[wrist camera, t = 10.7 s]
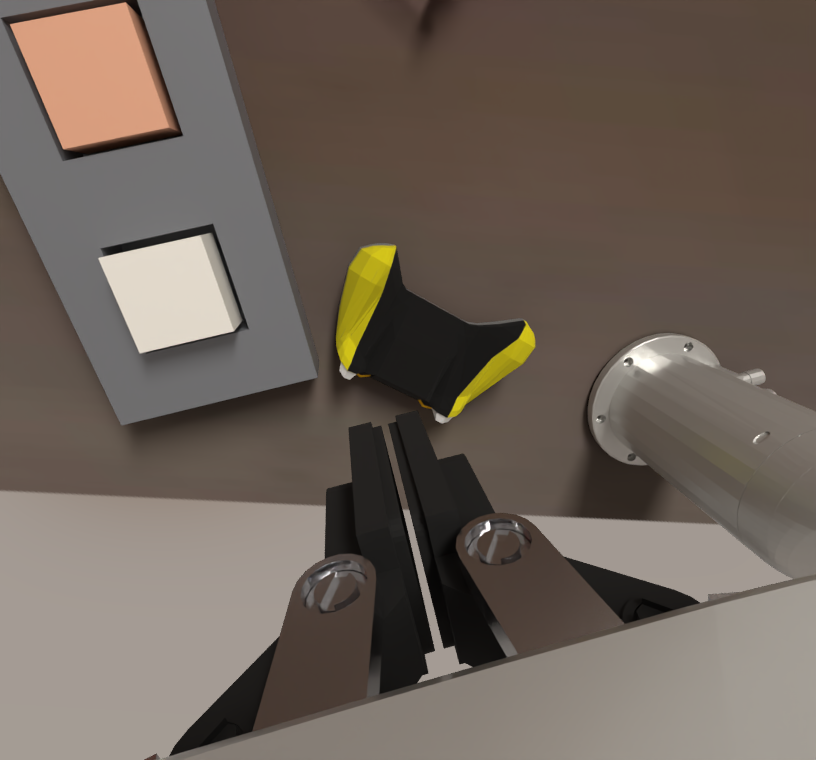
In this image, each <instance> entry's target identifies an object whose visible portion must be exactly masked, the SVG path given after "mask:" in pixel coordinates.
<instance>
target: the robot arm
mask: <svg viewBox="0 0 816 760" xmlns="http://www.w3.org/2000/svg"><path fill="white" fill-rule="evenodd" d="M764 382H765V374H764V373H763V371H762V370H760V369H752V370H749V371H745V372H742V373H740V374H737V373H735V372H733V371H730V370H728V369H725V368H723V367H721V366H720V363H719V361H718V359H717V358H716V356H715V355H714V353H713V352H712V351H711V350H710V349H709V348H708V347H707V346H706V345H705V344H703V343H701V342H699V341H698V340H696V339H693V338H691V337H688V336H685V335H681V334H674V333H662V334H655V335H651V336H647V337H644V338H642V339H640V340H637V341H635V342H633V343H631V344H630V345H628V346H627V347H625V348H624V349H622V350H621V351H620V352H619V353H617V354H616V355H615V356H614V357H613V358H612V359H611V360H610V361H609V362H608V363H607V365H606V366H605V367H604V368H603V370H602V371H601V373H600V374H599V376H598V378H597V380H596V381H595V383H594V386H593V388H592V391H591V394H590V397H589V403H588V423H589V427H590V431H591V433H592V435H593V437H594V439H595V441H596V442H597V443H598V445H599V446H600V447H601V448H602V449H603V450H604V451H605V452H606V453H608V454H609V455H610V456H611V457H613V458H615V459H616V460H618V461H620V462H623V463H626V464H630V465H641V466H642V465H649V466H650V467H651V468H652V469H653V470H655V471H656V472H657V473H658V474H659V475H661V476H662V477H663V478H664V479H665V480H667V481H668V482H669V483H670V484H671V485H673V486H674V487H675V488H676V489H677V490H679V491H680V492H681V493H682V494H683V495H685V496H686V497H687V498H688V499H689V500H691V501H692V502H693V503H694V504H695V505H697V506H698V507H699V508H700V509H701V510H703V511H704V512H705V513H706V514H707V515H709V516H710V517H711V518H712V519H714V520H715V521H716V522H717V523H718V524H720V525H721V526H722V527H723V528H724V529H726V530H727V531H728V532H729V533H730V534H732V535H733V536H734V537H735V538H736V539H738V540H739V541H740V542H741V543H742V544H744V545H745V546H746V547H747V548H748V549H750V550H751V551H753V552H754V553H755V554H756V555H757V556H758V557H760V558H761V559H762V560H763V561H764V562H766V563H767V564H769V565H770V566H771V567H773V568H775V569H776V570H777V571H779V572H781V573H783V574H785V575H786V576H788V577H791V578H793V579H792V580H789V581H784V582H780V583H776V584H771V585H767V586H763V587H759V588H755V589H751V590H747V591H743V592H734V593H721V594H709V595H708V601H707V602H703V603H700V602H698V601H697V600H695V599H693V598H692V597H690V596H688V595H685V594H683V593H681V592H678V591H676V590H672V589H669V588H666V587H663V586H659V585H656V584H653V583H649V582H646V581H643V580H639V579H636V578H633V577H630V576H626V575H623V574H620V573H616V572H613V571H610V570H606V569H603V568H600V567H596V566H593V565H590V564H587V563H583V562H580V561H576V560H573V559H570V558H567V557H563V556H562V555H561V554H560V552H558V550H557V549H556V548H555V547H554V546H553V545H552V544H551V543H550V541H549V540H548V539H547V538H546V537H545V536H544V535H543V534H542V533H541V532H540V530H539V529H538V528H537V527H536V526H535V525H534V524H532V523H531V522H530V521H529V520H527V519H525V518H523V517H520V516H518V515H514V514H508V513H495V512H494V510H493V508H492V506H491V504H490V502H489V500H488V498H487V496H486V494H485V493H484V491H483V489H482V487H481V485H480V483H479V481H478V479H477V477H476V475H475V473H474V472H473V470H472V468H471V466H470V464H469V462H468V460H467V458H466V456H465V455H464V454H459V455H455V456H451V457H447V458H444V459H440V460H437V457H436V455H435V452H434V450H433V447H432V445H431V443H430V440H429V438H428V435H427V433H426V430H425V428H424V425H423V423H422V420H421V418H420V416H419V413H418V411H413V412H409V413H405V414H401V415H397V416H396V421H397V422H394V423H390V424H388V425H389V429H390V433H391V437H392V441H393V445H394V450H395V454H396V458H397V462H398V466H399V470H400V474H401V478H402V482H403V486H404V490H405V494H406V498H407V502H408V506H409V510H410V514H411V518H412V522H413V526H414V530H415V534H416V538H417V542H418V546H419V551H420V555H421V559H422V562H423V567H424V571H425V575H426V578H427V583H428V586H429V591H430V594H431V599H432V603H433V607H434V610H435V615H436V619H437V623H438V627H439V631H440V635H441V639H442V643H443V647H444V648H448V647H451V646H455V649H456V653H457V657H458V660H459V664H463V663H466V664H468V665H470V666H472V668H469V669H465V670H462V671H459V672H455V673H451V674H448V675H444V676H441V677H437V678H434V679H431V680H427V681H424V682H421V683H417V682H418V681H419V679H420V678H421V676H422V675H425V674H428V669H427V664H426V659H425V654H427V653H430V652H433V651H435V649H434V644H433V640H432V636H431V631H430V627H429V622H428V618H427V614H426V609H425V605H424V600H423V596H422V592H421V587H420V583H419V579H418V574H417V570H416V565H415V561H414V557H413V552H412V548H411V543H410V540H409V535H408V530H407V526H406V522H405V518H404V514H403V510H402V506H401V502H400V498H399V494H398V490H397V486H396V482H395V478H394V474H393V471H392V467H391V463H390V459H389V455H388V451H387V447H386V443H385V439H384V435H383V431H382V427H381V426H378V427H374V428H373V427H372V424H371V422H369V423H365V424H361V425H357V426H353V427H349V441H350V456H351V470H352V482H351V483H347V484H343V485H339V486H336V487H332V488H328V489H327V492H326V529H325V559H324V560H322V561H320V562H318V563H316V564H315V565H313V566H312V567H311V568H310V569H308V570H307V571H305V573H304V574H303V575H302V576H301V577H300V578H299V580H298V581H297V583H296V585H295V587H294V589H293V591H292V595H291V598H290V602H289V605H288V609H287V612H286V616H285V619H284V623H283V626H282V630H281V633H280V636H279V637H278V638H277V639H276V640H275V641H274V642H273V643H272V644H271V646H269V647H268V648H267V650H266V651H265V652H264V653H263V654H262V655H261V656H260V657H259V658H258V659H257V660H256V661H255V662H254V663H253V664H252V665H251V666H250V667H249V668H248V669H247V670H246V671H245V672H244V673H243V674H242V675H241V676H240V677H239V678H238V679H237V680H236V681H235V682H234V683H233V684H232V685H231V686H230V687H229V688H228V689H227V690H226V691H225V692H224V693H223V694H222V695H221V697H219V698H218V699H217V701H216V702H215V703H214V704H213V705H212V706H211V707H210V708H209V709H208V710H207V711H206V712H205V713H204V714H203V715H202V716H201V717H200V718H199V719H198V720H197V721H196V722H195V723H194V724H193V725H192V726H191V727H190V728H189V729H188V730H187V732H186V733H185V734H184V735H183V736H182V738H181V739H180V740H179V741H178V742H177V744H176V745H175V746H174V748H173V750H172V752H171V754H170V755H169V757H166V758H163V759H160V758H159V756H158V755H157V754H155V755H153V756H151V757H149V758H147V759H145V760H816V412H815V411H813V410H811V409H808V408H806V407H804V406H801V405H799V404H797V403H794V402H792V401H790V400H787V399H785V398H783V397H780V396H778V395H776V393H775V392H774V391H772V390H771V389H767V388H765V389H762V388H760V387H757V386H755V385H759V384H762V383H764Z"/></svg>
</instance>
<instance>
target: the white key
mask: <svg viewBox="0 0 816 760" xmlns="http://www.w3.org/2000/svg"><path fill="white" fill-rule="evenodd" d="M98 259H99V261H100V264H101V266H102V268H103V271H104V273H105V275H106V277H107V280H108V282H109V284H110V287H111V289H112V291H113V293H114V296H115V298H116V300H117V303H118V305H119V307H120V309H121V312H122V314H123V316H124V319H125V321H126V323H127V325H128V328H129V330H130V332H131V335H132V337H133V339H134V342H135V344H136V346H137V348H138V351H139V353H144V352H148V351H152V350H156V349H161V348H165V347H169V346H173V345H178V344H182V343H186V342H190V341H195V340H199V339H203V338H207V337H212V336H216V335H220V334H224V333H229V332H233V331H235V329H236V328H237V327H238V326H239V324H240V323H241V322H242V318H241V315H240V312H239V309H238V306H237V303H236V301H235V298H234V295H233V292H232V289H231V286H230V283H229V280H228V277H227V274H226V271H225V268H224V266H223V263H222V260H221V257H220V254H219V251H218V248H217V245H216V242H215V239H214V236H213V234H212V233H208V234H203V235H199V236H194V237H190V238H185V239H181V240H176V241H172V242H167V243H163V244H158V245H154V246H149V247H145V248H140V249H136V250H131V251H126V252H122V253H118V254H113V255H109V256H105V257H100V258H98Z"/></svg>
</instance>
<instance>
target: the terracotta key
mask: <svg viewBox="0 0 816 760" xmlns="http://www.w3.org/2000/svg"><path fill="white" fill-rule="evenodd" d="M10 26H11V28H12V31H13V33H14V35H15V38H16V40H17V42H18V45H19V47H20V49H21V52H22V54H23V56H24V59H25V61H26V63H27V66H28V68H29V70H30V73H31V75H32V77H33V80H34V82H35V84H36V87H37V89H38V91H39V94H40V96H41V98H42V101H43V103H44V105H45V108H46V110H47V112H48V115H49V117H50V119H51V122H52V124H53V126H54V129H55V131H56V133H57V136H58V138H59V140H60V143H61V145H62V147H63V149H65V150H70V151H75V152H79V153H84V154H92V153H97V152H102V151H106V150H111V149H116V148H121V147H126V146H131V145H135V144H140V143H145V142H150V141H155V140H159V139H164V138H169V137H174V136H179V135H183V133H182V131H181V128H180V125H179V122H178V119H177V116H176V113H175V110H174V107H173V104H172V101H171V98H170V95H169V92H168V89H167V86H166V84H165V81H164V78H163V75H162V72H161V69H160V66H159V63H158V60H157V57H156V54H155V51H154V48H153V45H152V42H151V39H150V36H149V34H148V31H147V28H146V25H145V22H144V20H143V19H142V18H141V17H140V16H139V15H138V14H137V13H136V12H135V11H134V10H133V9H132V8H131V7H130V6H129V5H128V4H127V3H126V2H125V3H120V4H114V5H109V6H104V7H98V8H93V9H88V10H83V11H77V12H72V13H67V14H61V15H56V16H51V17H45V18H40V19H35V20H30V21H24V22H19V23H14V24H10Z"/></svg>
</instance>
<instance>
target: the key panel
mask: <svg viewBox="0 0 816 760" xmlns="http://www.w3.org/2000/svg"><path fill="white" fill-rule="evenodd" d="M125 2H126V3H127V4H128V5H129V6H130V7H131V8H132V9H133V10H134V11H135V12H136V13H137V14H138V15H139V16H140V17H141V18H142V19H143V20H144V22H145V25H146V28H147V31H148V34H149V36H150V39H151V42H152V45H153V48H154V51H155V54H156V57H157V60H158V63H159V66H160V69H161V72H162V75H163V78H164V81H165V84H166V86H167V89H168V92H169V95H170V98H171V101H172V104H173V107H174V110H175V113H176V116H177V119H178V122H179V125H180V128H181V131H182V133H183V135H179V136H174V137H169V138H164V139H159V140H155V141H150V142H145V143H140V144H135V145H131V146H126V147H121V148H116V149H111V150H106V151H102V152H97V153H92V154H84V153H79V152H75V151H70V150H65V149H63V147H62V145H61V143H60V140H59V138H58V136H57V133H56V131H55V129H54V126H53V124H52V122H51V119H50V117H49V115H48V112H47V110H46V108H45V105H44V103H43V101H42V98H41V96H40V94H39V91H38V89H37V87H36V84H35V82H34V80H33V77H32V75H31V73H30V70H29V68H28V66H27V63H26V61H25V59H24V56H23V54H22V52H21V49H20V47H19V45H18V42H17V40H16V38H15V35H14V33H13V31H12V28H11V26H10V24H14V23H19V22H24V21H30V20H35V19H40V18H45V17H51V16H56V15H61V14H67V13H72V12H77V11H83V10H88V9H93V8H98V7H104V6H109V5H114V4H120V3H125ZM0 174H1V176H2V178H3V180H4V182H5V184H6V186H7V188H8V191H9V193H10V195H11V197H12V199H13V201H14V203H15V205H16V207H17V209H18V211H19V213H20V216H21V218H22V220H23V222H24V224H25V226H26V228H27V230H28V232H29V234H30V236H31V238H32V240H33V243H34V245H35V247H36V249H37V251H38V253H39V255H40V257H41V259H42V261H43V263H44V265H45V268H46V270H47V272H48V274H49V276H50V278H51V280H52V282H53V284H54V286H55V288H56V290H57V293H58V295H59V297H60V299H61V301H62V303H63V305H64V307H65V309H66V311H67V313H68V315H69V318H70V320H71V322H72V324H73V326H74V328H75V330H76V332H77V334H78V336H79V338H80V340H81V343H82V345H83V347H84V349H85V351H86V353H87V355H88V357H89V359H90V361H91V363H92V365H93V368H94V370H95V372H96V374H97V376H98V378H99V380H100V382H101V384H102V386H103V388H104V390H105V392H106V395H107V397H108V399H109V401H110V403H111V405H112V407H113V409H114V411H115V413H116V415H117V417H118V420H119V422H120V424H121V425H125V424H129V423H134V422H138V421H142V420H146V419H150V418H154V417H158V416H162V415H166V414H170V413H175V412H179V411H183V410H187V409H191V408H195V407H199V406H203V405H207V404H211V403H216V402H220V401H224V400H228V399H232V398H236V397H240V396H244V395H248V394H252V393H256V392H261V391H265V390H269V389H273V388H277V387H281V386H285V385H289V384H293V383H297V382H302V381H306V380H310V379H314V378H318V368H319V359H318V355H317V352H316V348H315V345H314V341H313V338H312V334H311V331H310V328H309V324H308V321H307V317H306V314H305V310H304V307H303V304H302V300H301V297H300V293H299V290H298V286H297V283H296V280H295V276H294V273H293V269H292V266H291V262H290V259H289V255H288V252H287V249H286V245H285V242H284V238H283V235H282V231H281V228H280V225H279V221H278V218H277V214H276V211H275V207H274V204H273V200H272V197H271V194H270V190H269V187H268V183H267V180H266V176H265V173H264V170H263V166H262V163H261V159H260V156H259V152H258V149H257V145H256V142H255V139H254V135H253V132H252V128H251V125H250V121H249V118H248V115H247V111H246V108H245V104H244V101H243V97H242V94H241V91H240V87H239V84H238V80H237V77H236V73H235V70H234V66H233V63H232V60H231V56H230V53H229V49H228V46H227V42H226V39H225V36H224V32H223V29H222V25H221V22H220V18H219V15H218V11H217V8H216V5H215V1H214V0H0ZM208 233H212V234H213V236H214V239H215V242H216V245H217V248H218V251H219V254H220V257H221V260H222V263H223V266H224V268H225V271H226V274H227V277H228V280H229V283H230V286H231V289H232V292H233V295H234V298H235V301H236V303H237V306H238V309H239V312H240V315H241V318H242V322H241V323H240V324H239V326H238V327H237V328H236V329H235V331H233V332H229V333H224V334H220V335H216V336H212V337H207V338H203V339H199V340H195V341H190V342H186V343H182V344H178V345H173V346H169V347H165V348H161V349H156V350H152V351H148V352H144V353H139V351H138V348H137V346H136V344H135V342H134V339H133V337H132V335H131V332H130V330H129V328H128V325H127V323H126V321H125V319H124V316H123V314H122V312H121V309H120V307H119V305H118V303H117V300H116V298H115V296H114V293H113V291H112V289H111V287H110V284H109V282H108V280H107V277H106V275H105V273H104V271H103V268H102V266H101V264H100V261H99V259H98V258H100V257H105V256H109V255H113V254H118V253H122V252H126V251H131V250H136V249H140V248H145V247H149V246H154V245H158V244H163V243H167V242H172V241H176V240H181V239H185V238H190V237H194V236H199V235H203V234H208Z"/></svg>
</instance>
